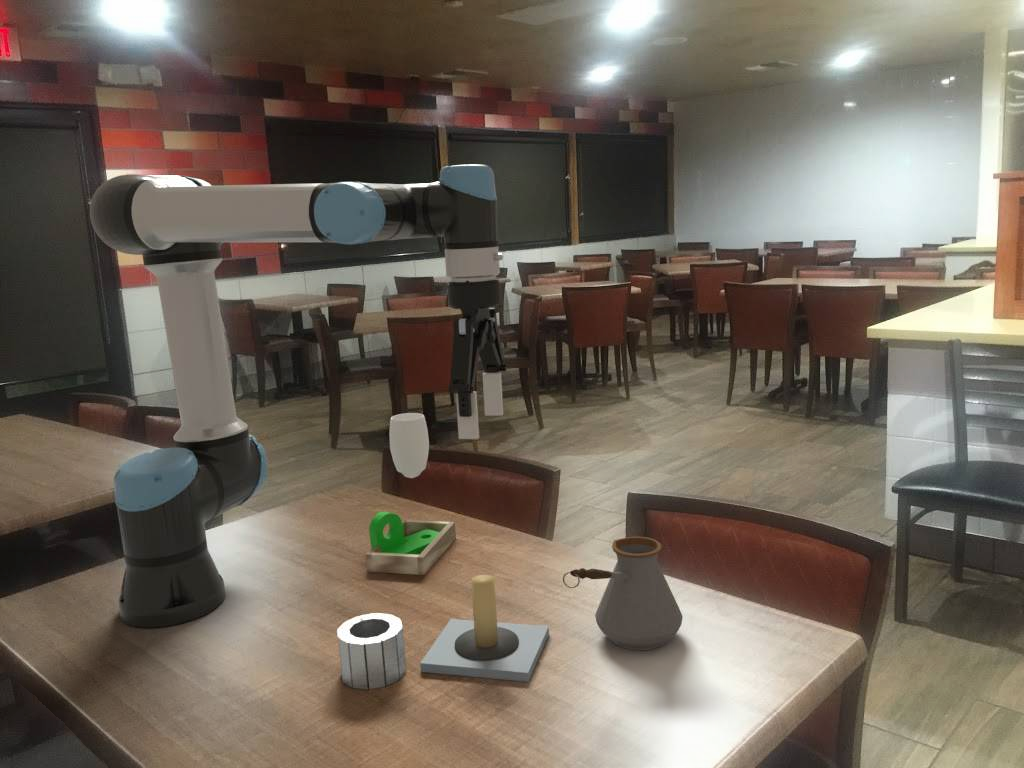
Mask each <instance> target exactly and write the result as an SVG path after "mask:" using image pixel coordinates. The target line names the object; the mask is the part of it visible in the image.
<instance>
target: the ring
mask: <svg viewBox="0 0 1024 768" xmlns="http://www.w3.org/2000/svg"><path fill="white" fill-rule="evenodd" d="M336 633H337V643H338V653H339V655H338V656H339V662H340V665H339V666H340V674H341V681H342V683H344V684H345V685H347V686H349V687H350V688H353V689H357V690H367V691H368V690H373V689H374V690H375V689H380V688H385V687H386V686H387V687H388V686H390V685H392V684H393V683H396V682H397V681H399V680H400V679H401V678H402V677H403V675H405V672H406V671H407V665H406V652H405V651H406V650H405V641H404V640H405V639H404V638H405V637H404V627H403V624H402V620H401V619H400V618H399V617H397V616H396V615H393V614H389V613H379V612H375V613H374V612H373V613H372V612H371V613H369V614H368V613H367V614H362V615H361V614H360V615H359V616H355V617H352V618H349V619H347V620H345V621H344V622H343V623H342V624H341V625H340V626H339V627H338V628H337V630H336Z"/></svg>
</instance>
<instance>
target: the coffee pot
mask: <svg viewBox="0 0 1024 768" xmlns="http://www.w3.org/2000/svg"><path fill="white" fill-rule="evenodd" d="M611 544H612V545H611V548H612V550H613V552H614V553H615V554H616V558H617V562H616V563H615V566H614V567H613V571H609V570H603V569H597V568H589V569H586V568H584V567H581V568H579V569H577V568H575V569H573V570H571V571H569V572H566V573H564V574H563V577H562V582H563V584H564V585H565V586H566V587H567V588H568V589H574V588H576V587H578V586H579V585H580V582H581V580H584V579H586V578H587V579H590V580H602V579H604V580H605V579H609V581H608V583H607V585H606V588H605V590H604V592H603V595H602V597H601V599H600V602H599V604H598V607H597V609H596V611H595V615H594V617H595V621H596V625H597V626H598V628H599V629H600V631H601V633H602V634H604V635H605V636H606V637H607V638H608V639H610V640H611V641H612V643H613V644H615V645H617V646H618V647H621V648H623V649H627V650H633V651H649V650H654V649H657V648H659V647H660V648H661V647H662V646H663V645H665V644H666V643H667V642H668V641H670V639H672V638H673V637H674V636H675V635H676V634H677V632H678V631H680V628H681V626H682V624H683V623H682V622H683V618H684V617H683V614H682V612H681V609H680V606H679V605H678V603H677V600H676V599H675V596H674V594H673V591H672V590H671V587H670V585H669V582H668V581H667V579H666V577H665V575H664V573H663V571H662V569H661V566H660V564H659V562H658V556H659V553H660V552H661V551H662V549H663V547H662V544H661V542H659V541H658V540H656V539H654V538H651V537H646V536H629V537H623V538H618V539H615V540H613V542H612V543H611ZM568 574H570V576H573V577H575V578H577V584H576V585H574V586H569V585H568V584H567V583H566V582H565V578H566V575H568ZM580 579H581V580H580Z"/></svg>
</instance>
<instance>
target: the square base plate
mask: <svg viewBox="0 0 1024 768" xmlns="http://www.w3.org/2000/svg"><path fill="white" fill-rule="evenodd" d="M470 584H471V600H472V612H473V613H472V614H473V615H472V616H473V620H470V619H458V618H450V619H449V621H448V622H447V624H446V626H444V628H443V629H442V631H441V632H440V634H439V635H438V637H437V638H436V639H435V641H434V643H433V644H432V645H431V647H430V648H429V649H428V651H427V653H426V654H425V656H424V657H423V659H422V660H421V661H420V663H419V666H420V667H419V668H420V673H429V674H430V673H431V674H441V675H451V676H463V677H470V678H471V677H473V678H481V679H492V680H493V679H495V680H503V681H514V682H515V681H517V682H523V683H524V682H525V683H528V682H530V679H531V677H532V675H533V672H534V670H535V668H536V665H537V663H538V661H539V658H540V656H541V654H542V653H543V650H544V647H545V645H546V643H547V640H548V639H549V638H548V637H549V636H550V626H549V625H548V626H547V625H537V624H525V623H510V622H509V623H508V622H499V621H498V619H497V617H498V615H497V603H496V602H497V601H496V587H495V585H496V582H495V577H494V576H492V575H489V574H480V575H479V574H478V575H475V576H474V577H472V578H471V580H470Z"/></svg>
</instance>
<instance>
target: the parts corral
mask: <svg viewBox="0 0 1024 768" xmlns="http://www.w3.org/2000/svg"><path fill="white" fill-rule="evenodd" d="M401 520H402V524H403V532H404V538H405V537H407V536H410V535H412V534H415V533H417V532H420V531H422V530H425V529H430V530H433V531H437V532H439V534H438V535H437V536H436V537H435V538H434V539H433V540H432V542H431V543H430V544H429V545H428V546H427V547H426V548H425V549H424V550H423V551H422V553H421V554H420V555H415V554H397V553H381V546H378V547H377V546H374V547H373V548H372V549H370V550H369V551H367V552H366V554H365V560H366V561H365V562H366V563H365V564H366V572H370V573H385V574H386V573H389V574H399V575H400V574H401V575H403V574H404V575H416V576H417V575H419V576H425V575H426V574H427V573H428V572H429V571H430V570H431V568H432V567H433V566H434V564H435V563H436V562H437V561H438V560H439V558H440V557H441V556H442V555H443V554H444V553H445V552H446V551H447V549H448V548H449V547H450V545H451V544H452V543H453V542H454V541H455V540H456V538H457V537H456V534H457V533H456V522H455V521H441V520H439V521H437V520H422V519H421V520H419V519H417V520H416V519H415V520H414V519H401Z"/></svg>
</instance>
